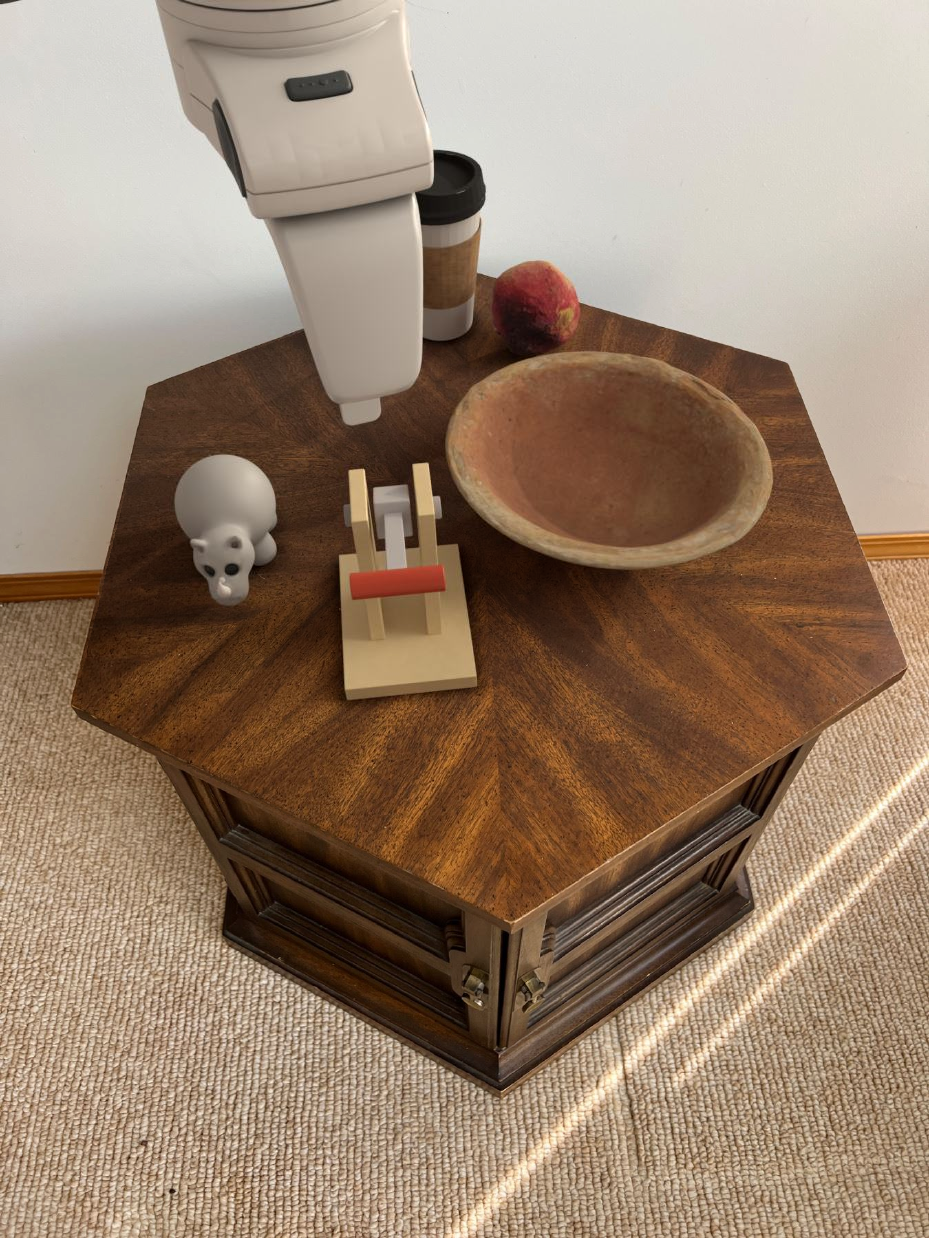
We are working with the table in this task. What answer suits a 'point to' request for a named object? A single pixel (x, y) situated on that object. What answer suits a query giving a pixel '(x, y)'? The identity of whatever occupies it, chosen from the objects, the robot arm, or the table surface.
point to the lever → (395, 552)
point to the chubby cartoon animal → (227, 522)
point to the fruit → (534, 308)
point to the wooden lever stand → (403, 609)
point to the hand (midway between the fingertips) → (336, 351)
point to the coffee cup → (450, 244)
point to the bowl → (608, 460)
